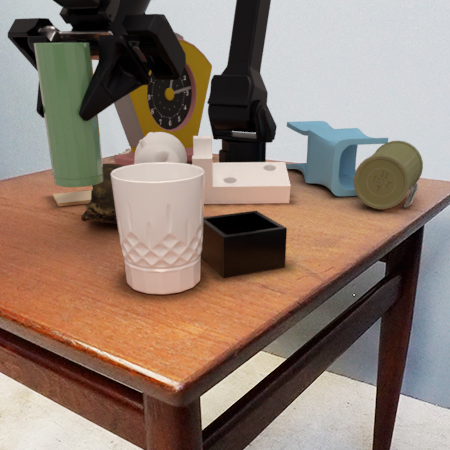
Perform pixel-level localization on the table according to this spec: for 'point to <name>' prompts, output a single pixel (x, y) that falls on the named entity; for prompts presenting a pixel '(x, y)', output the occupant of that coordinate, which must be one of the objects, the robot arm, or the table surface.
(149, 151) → the cat figurine
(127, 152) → the soap
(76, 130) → the green cylinder
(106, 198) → the seashell
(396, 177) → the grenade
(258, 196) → the bracket
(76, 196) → the coaster
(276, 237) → the black open box
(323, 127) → the blue step stool
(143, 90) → the yellow mantel clock
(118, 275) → the table surface
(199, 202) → the white cup
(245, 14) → the robot arm
